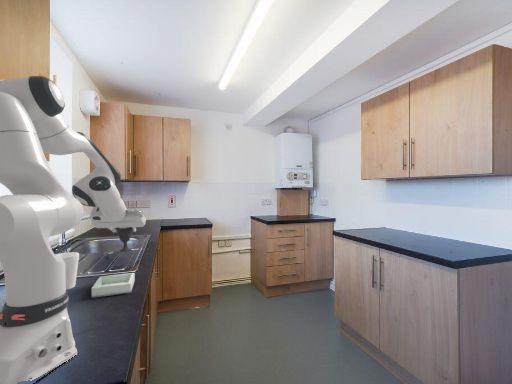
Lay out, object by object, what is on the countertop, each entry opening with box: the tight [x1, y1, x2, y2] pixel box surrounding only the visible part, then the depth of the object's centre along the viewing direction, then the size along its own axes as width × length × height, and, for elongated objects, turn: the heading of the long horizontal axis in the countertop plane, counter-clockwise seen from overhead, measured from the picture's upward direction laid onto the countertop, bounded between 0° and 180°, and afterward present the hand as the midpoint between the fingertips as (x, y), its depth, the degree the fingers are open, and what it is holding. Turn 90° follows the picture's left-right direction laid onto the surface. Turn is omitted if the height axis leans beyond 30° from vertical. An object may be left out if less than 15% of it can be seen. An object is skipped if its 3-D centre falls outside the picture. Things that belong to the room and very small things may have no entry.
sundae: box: [115, 227, 132, 253], centre depth 115 cm, size 7×7×15 cm
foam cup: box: [55, 251, 80, 291], centre depth 106 cm, size 10×9×13 cm
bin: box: [91, 272, 136, 299], centre depth 104 cm, size 13×13×4 cm
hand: (124, 230), depth 115 cm, fingers closed on sundae, 6 cm apart
